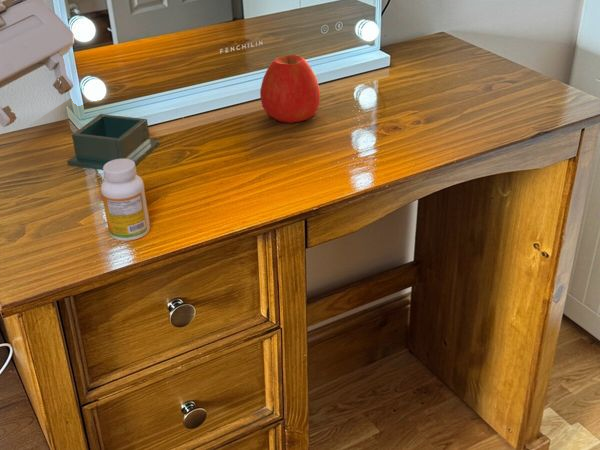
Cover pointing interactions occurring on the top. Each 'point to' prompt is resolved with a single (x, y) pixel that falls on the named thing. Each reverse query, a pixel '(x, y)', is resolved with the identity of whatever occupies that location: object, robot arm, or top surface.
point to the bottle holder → (111, 141)
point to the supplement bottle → (124, 201)
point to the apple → (290, 90)
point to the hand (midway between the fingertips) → (40, 106)
